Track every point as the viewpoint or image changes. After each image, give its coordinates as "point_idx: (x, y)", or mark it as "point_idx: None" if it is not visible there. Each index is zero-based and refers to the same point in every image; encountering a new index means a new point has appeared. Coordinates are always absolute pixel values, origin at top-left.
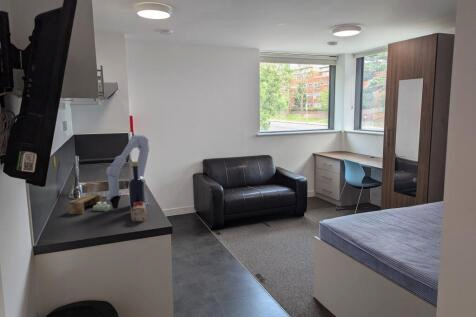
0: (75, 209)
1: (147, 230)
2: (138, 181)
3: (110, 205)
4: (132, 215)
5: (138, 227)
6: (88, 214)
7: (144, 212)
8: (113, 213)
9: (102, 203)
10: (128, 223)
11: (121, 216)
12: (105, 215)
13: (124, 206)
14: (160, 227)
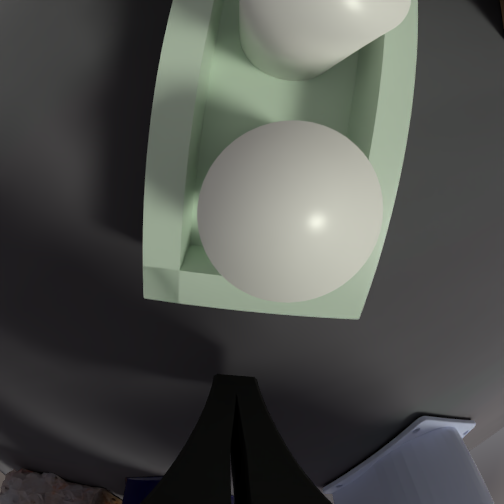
0: None
1: (5, 475)
2: None
3: (339, 311)
4: (3, 490)
5: (2, 465)
6: (6, 42)
7: None
8: (89, 381)
9: (215, 162)
10: (3, 450)
11: (54, 437)
12: (5, 315)
13: (402, 392)
14: None
